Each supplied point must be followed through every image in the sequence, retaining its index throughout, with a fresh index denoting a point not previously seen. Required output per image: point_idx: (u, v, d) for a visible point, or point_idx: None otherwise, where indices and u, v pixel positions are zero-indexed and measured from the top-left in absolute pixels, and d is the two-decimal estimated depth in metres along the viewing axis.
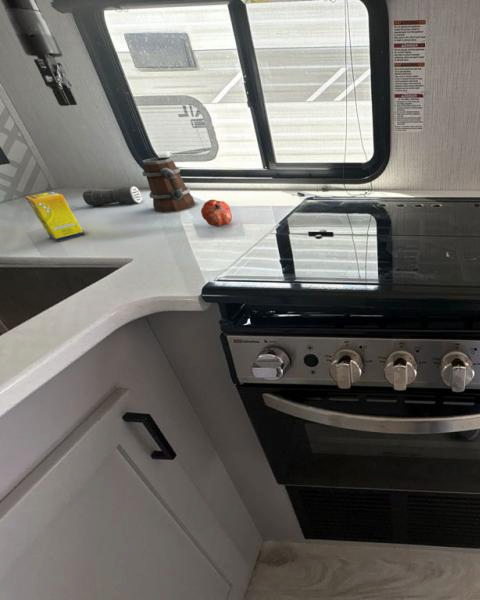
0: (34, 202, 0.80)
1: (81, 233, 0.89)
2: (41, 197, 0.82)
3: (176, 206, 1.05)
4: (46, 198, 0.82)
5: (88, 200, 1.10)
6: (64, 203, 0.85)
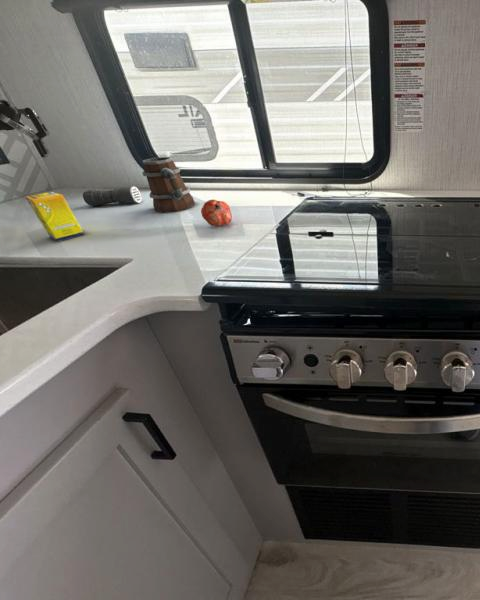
0: (34, 202, 0.80)
1: (81, 233, 0.89)
2: (41, 197, 0.82)
3: (176, 206, 1.05)
4: (46, 198, 0.82)
5: (88, 200, 1.10)
6: (64, 203, 0.85)
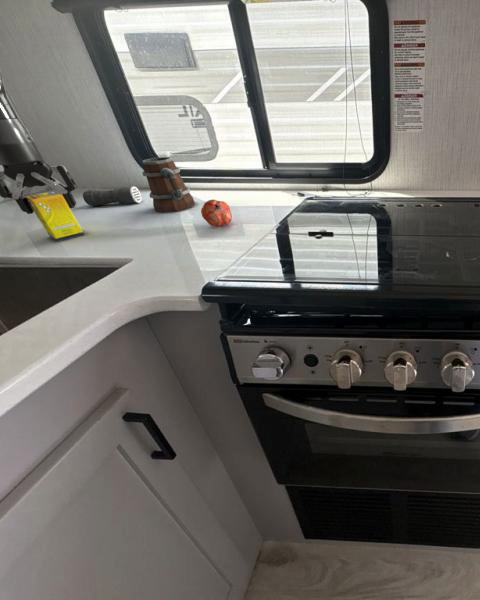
0: (34, 202, 0.80)
1: (81, 233, 0.89)
2: (41, 197, 0.82)
3: (176, 206, 1.05)
4: (46, 198, 0.82)
5: (88, 200, 1.10)
6: (64, 203, 0.85)
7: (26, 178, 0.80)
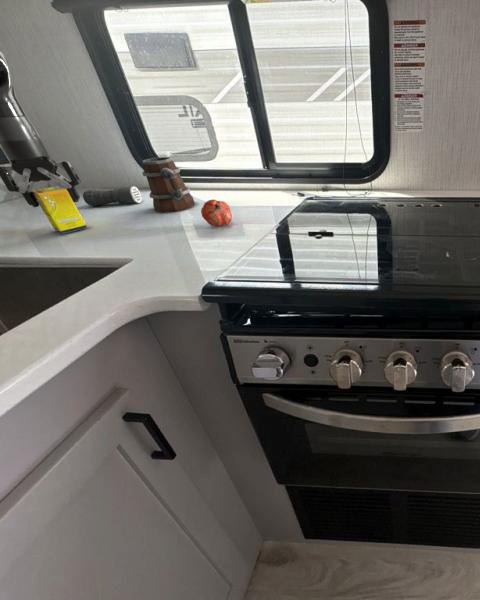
0: (40, 196, 0.84)
1: (84, 226, 0.93)
2: (46, 191, 0.86)
3: (176, 206, 1.05)
4: (51, 192, 0.86)
5: (88, 200, 1.10)
6: (68, 197, 0.89)
7: (32, 173, 0.84)
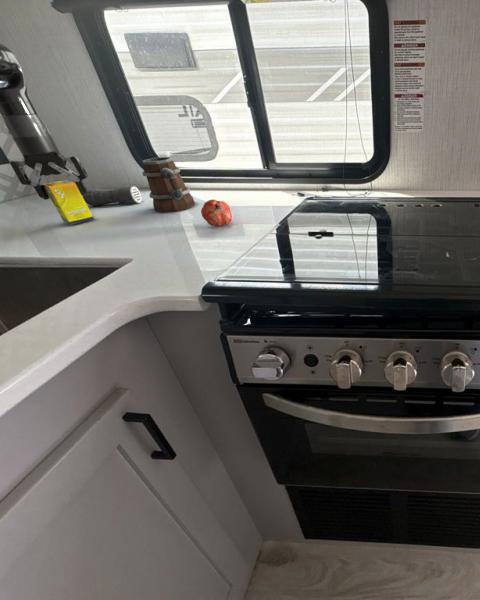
0: (50, 188, 0.91)
1: (91, 218, 0.99)
2: (56, 184, 0.92)
3: (176, 206, 1.05)
4: (61, 185, 0.92)
5: (88, 200, 1.10)
6: (76, 190, 0.95)
7: (43, 167, 0.90)
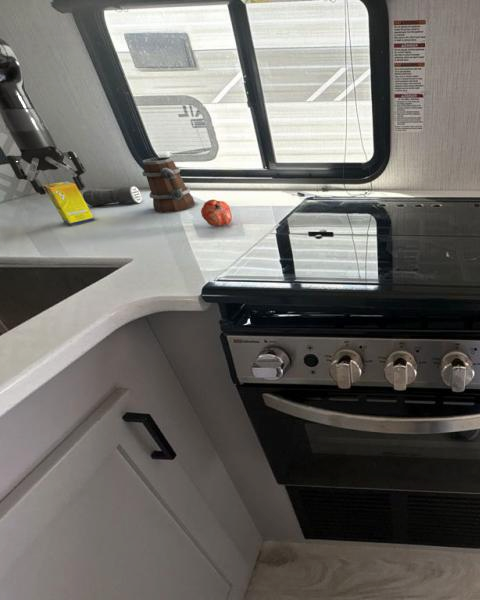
0: (51, 190, 0.91)
1: (92, 219, 0.99)
2: (57, 186, 0.92)
3: (176, 206, 1.05)
4: (62, 187, 0.92)
5: (88, 200, 1.10)
6: (77, 191, 0.95)
7: (40, 162, 0.89)
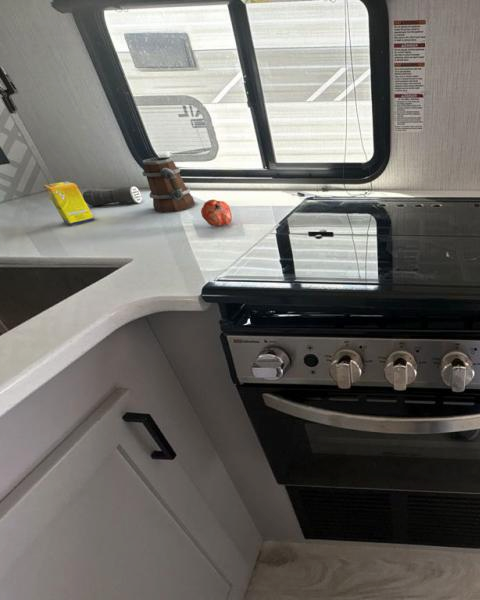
0: (51, 190, 0.91)
1: (92, 219, 0.99)
2: (57, 186, 0.92)
3: (176, 206, 1.05)
4: (62, 187, 0.92)
5: (88, 200, 1.10)
6: (77, 191, 0.95)
7: None
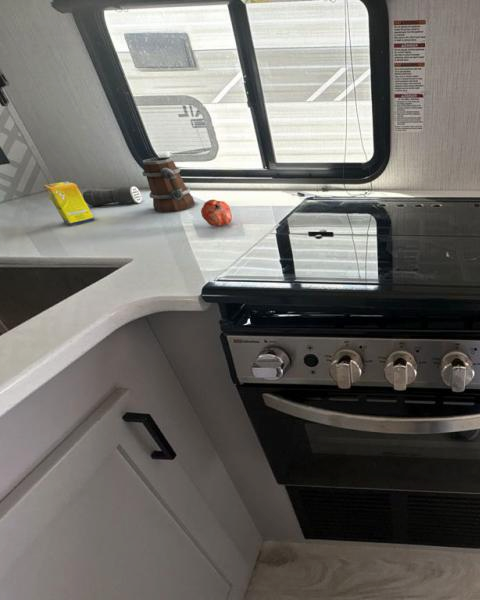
0: (51, 190, 0.91)
1: (92, 219, 0.99)
2: (57, 186, 0.92)
3: (176, 206, 1.05)
4: (62, 187, 0.92)
5: (88, 200, 1.10)
6: (77, 191, 0.95)
7: None
